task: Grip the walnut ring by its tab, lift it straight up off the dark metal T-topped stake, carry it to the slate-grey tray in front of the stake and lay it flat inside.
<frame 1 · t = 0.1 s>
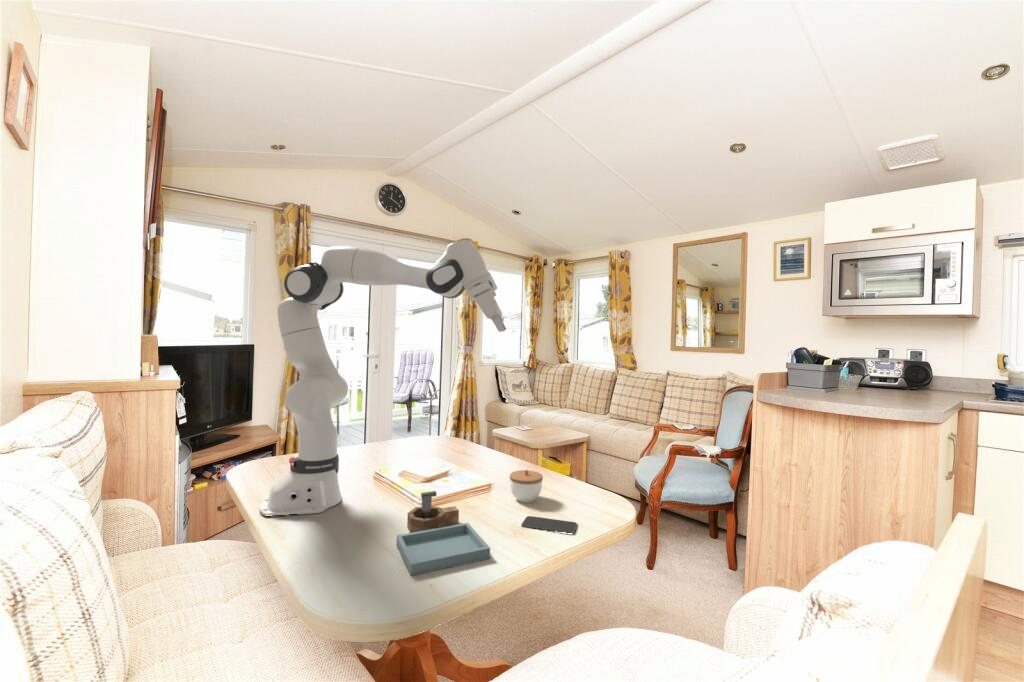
hand: (502, 330, 134), 54 cm above the table, tool tilted 30°, fingers open, 8 cm apart
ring: (426, 527, 123), on the table
stake: (426, 527, 123), on the table
smartphone: (549, 527, 126), on the table
lidded jar: (525, 499, 145), on the table
tray: (442, 551, 110), on the table
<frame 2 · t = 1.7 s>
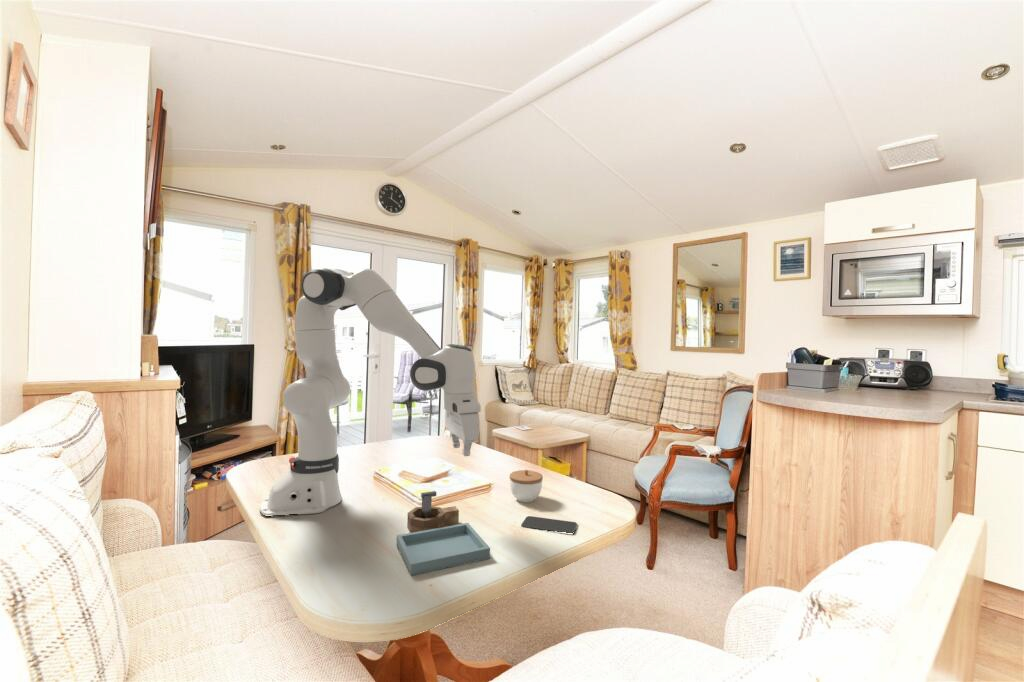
hand: (461, 451, 126), 20 cm above the table, tool pointing down, fingers open, 8 cm apart
nothing on the table moved.
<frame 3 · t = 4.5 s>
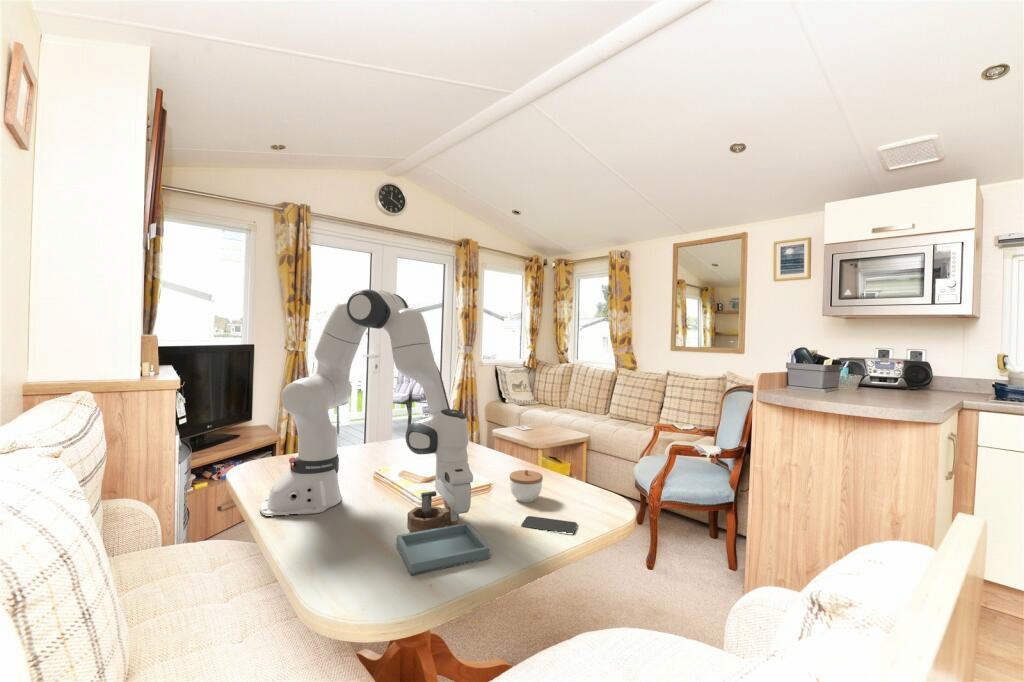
hand: (450, 517, 126), 2 cm above the table, tool pointing down, fingers closed on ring, 3 cm apart
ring: (426, 527, 123), on the table, touching gripper
everything else where it was.
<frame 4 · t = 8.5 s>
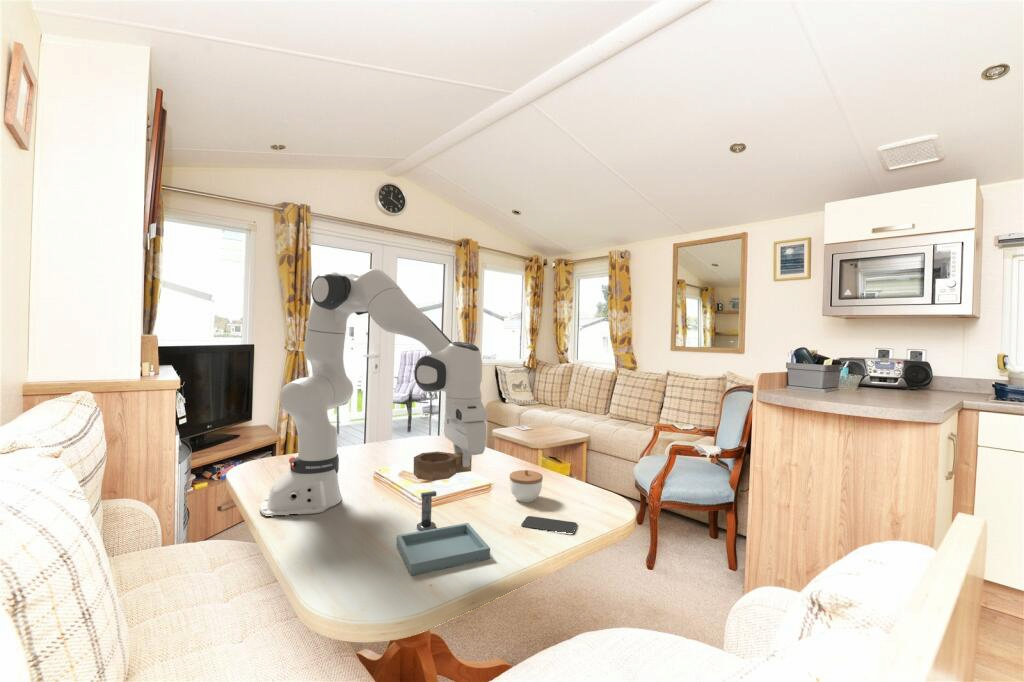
hand: (462, 463, 111), 21 cm above the table, tool pointing down, fingers closed on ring, 3 cm apart
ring: (434, 473, 108), point 20 cm above the table, touching gripper
everything else where it was.
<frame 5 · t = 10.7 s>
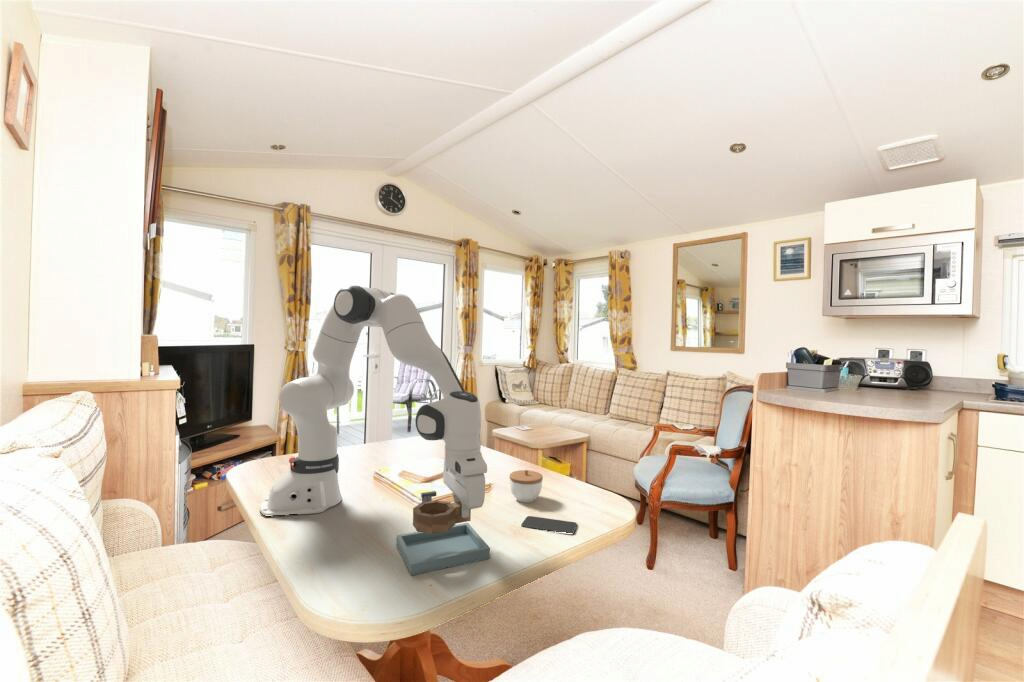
hand: (461, 513, 112), 9 cm above the table, tool pointing down, fingers closed on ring, 3 cm apart
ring: (434, 524, 109), point 7 cm above the table, touching gripper
everything else where it was.
when the fingers open (4 cm above the table, at t = 12.5 s): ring drops 1 cm, resting on tray.
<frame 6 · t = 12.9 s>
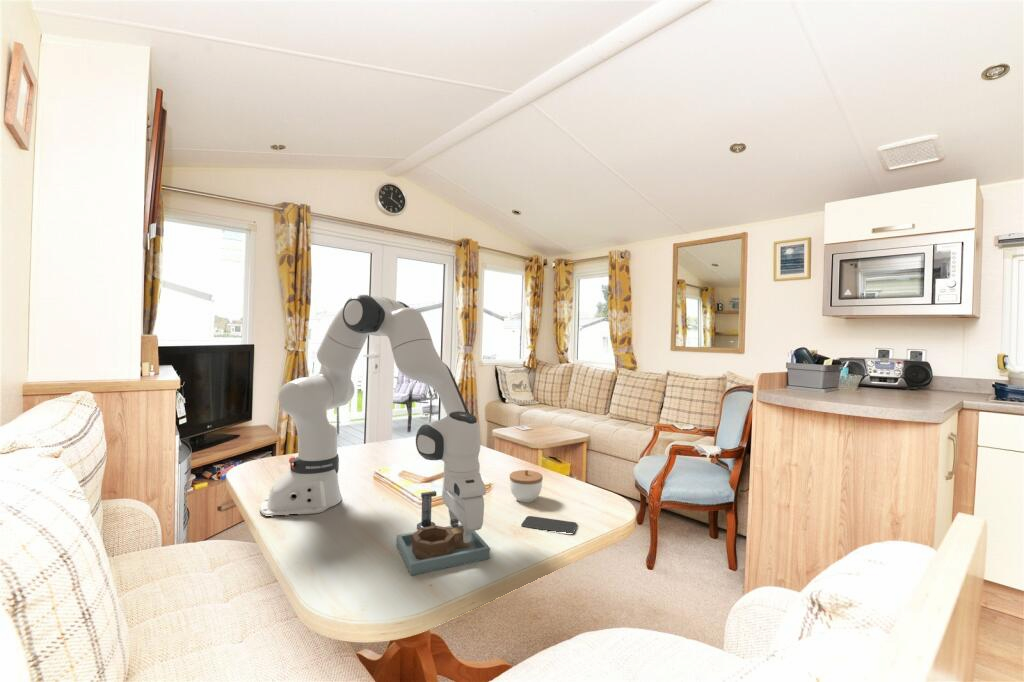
hand: (460, 533, 112), 4 cm above the table, tool pointing down, fingers open, 8 cm apart
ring: (433, 550, 109), point 1 cm above the table, touching tray
everything else where it was.
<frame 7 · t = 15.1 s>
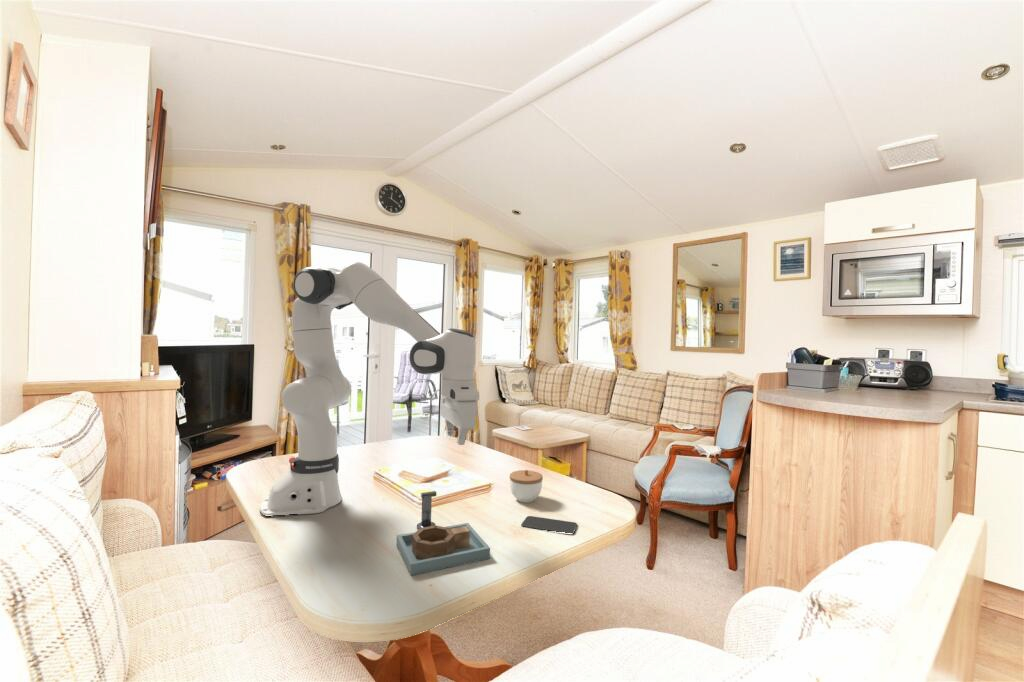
hand: (455, 439, 122), 24 cm above the table, tool pointing down, fingers open, 8 cm apart
nothing on the table moved.
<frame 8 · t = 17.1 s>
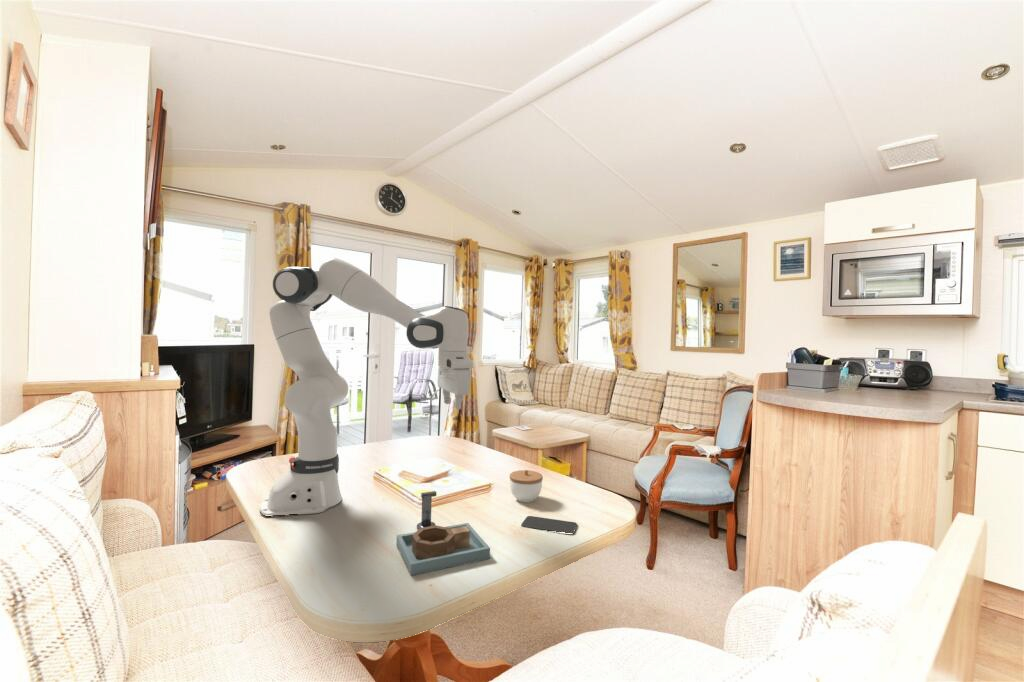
hand: (452, 406, 135), 31 cm above the table, tool pointing down, fingers open, 8 cm apart
nothing on the table moved.
at the end: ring 0.5 cm from the target spot on the tray, point 0.6 cm above the tray's base; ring tilted 0°; the gripper is holding nothing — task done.
